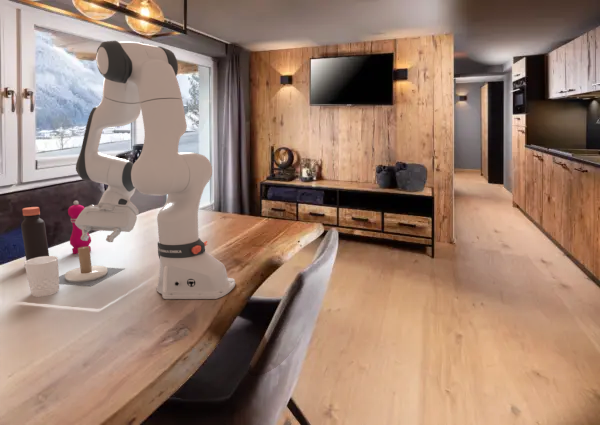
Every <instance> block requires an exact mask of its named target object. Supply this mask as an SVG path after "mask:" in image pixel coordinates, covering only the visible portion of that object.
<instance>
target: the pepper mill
mask: <svg viewBox="0 0 600 425" xmlns="http://www.w3.org/2000/svg"><path fill="white" fill-rule="evenodd" d="M85 207H86V206H84V205H81V204H79V201H78V200H74V201H73V205H70V206H69V207H68V209H67V214H68V216H69V217H70V222H71V223H72V231H71V235H70V238H69V245H70V246H72V248H71V250H72V251H71V252H72V254H74V255H77V254H78V248H80V247H86V246H87V247H89V248H90V252H91V251H92V248H91V246H90V244H91V243H92V237H91V236H90V233H89V232H87V235H88V236H89V239H88V241H83V240H82V239H81V236H82V230H81V229H79V228H78V227H77V226H76V225H75V221H76V219H77V217H78V216H79V214H80V213H81V212H82V210H83V209H84V208H85Z"/></svg>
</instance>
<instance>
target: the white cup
mask: <svg viewBox="0 0 600 425" xmlns="http://www.w3.org/2000/svg"><path fill="white" fill-rule="evenodd" d="M24 267H25V273H26V277H27V282H28V286H29V288H30V294H31V296H32V297H37V298H38V297H39V298H40V297H46V296H51V295H54V294H56V293H57V292H59V291H60V284H59V276H60V271H59V258H58V257H57V256H55V255H49V256H43V257H37V258H33V259H29V260H27V261H26V260H25V261H24Z"/></svg>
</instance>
